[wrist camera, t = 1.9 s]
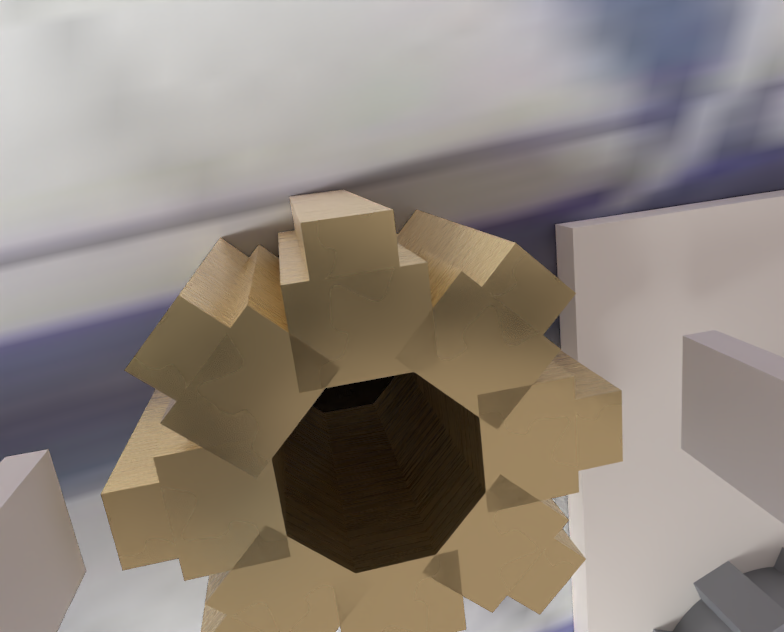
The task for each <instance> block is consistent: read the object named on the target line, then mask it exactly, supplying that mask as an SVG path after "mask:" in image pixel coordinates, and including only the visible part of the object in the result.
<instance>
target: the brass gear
mask: <svg viewBox="0 0 784 632" xmlns="http://www.w3.org/2000/svg"><path fill="white" fill-rule="evenodd" d="M289 198H290V204H291V210H292V216H293V222H294V228H295V230H293V231H286V232H279V233H278V242H279V258H278V257H277V256H275V255H274V254H272V253H271V252H270V251H268V250H267V249H265V248H264V247H263V246H261V245H260V244H259V245H258V246H257V247H256V249H255V250H254V251H253V253H252V254H251V256H250V257H248V256H246V255H245V254H244V253H242V252H241V251H239V250H238V249H236V248H235V247H234V246H232V245H231V244H229V243H228V242H226V241H225V240H224V239H222V238H221V237H220V239H219V240H218V241H217V243H216V244H215V246H214V247H213V248H212V250H211V251H210V252H209V254H208V255H207V257H206V258H205V259H204V261H203V262H202V263H201V265H200V266H199V268H198V269H197V270H196V272H195V273H194V275H193V276H192V277H191V279H190V280H189V281H188V283H187V284H186V286H185V287H184V288H183V290H182V291H181V293H180V294H179V295H178V297H177V298H176V299H175V301H174V302H173V304H172V305H171V306H170V308H169V309H168V311H167V312H166V313H165V315H164V316H163V318H162V319H161V320H160V322H159V323H158V324H157V326H156V327H155V329H154V330H153V331H152V333H151V334H150V336H149V337H148V338H147V340H146V341H145V342H144V344H143V345H142V347H141V348H140V349H139V351H138V352H137V354H136V355H135V356H134V358H133V359H132V360H131V362H130V363H129V365H128V366H127V367H126V369H125V370H124V371H126V372H128V373H129V374H131V375H133V376H135V377H136V378H138V379H140V380H141V381H143V382H145V383H146V384H148V385H150V386H152V387H153V388H155V389H156V390H155V392H154V393H153V395H152V397H151V399H150V401H149V403H148V405H147V407H146V409H145V411H144V413H143V414H142V416H141V418H140V420H139V422H138V424H137V426H136V428H135V430H134V432H133V434H132V435H131V437H130V439H129V441H128V443H127V445H126V447H125V449H124V451H123V453H122V455H121V456H120V458H119V460H118V462H117V464H116V466H115V468H114V470H113V472H112V474H111V476H110V477H109V479H108V481H107V483H106V485H105V487H104V489H103V491H102V493H101V497H102V500H103V504H104V507H105V511H106V514H107V518H108V521H109V525H110V528H111V532H112V535H113V539H114V542H115V546H116V549H117V553H118V556H119V560H120V563H121V566H122V570H127V569H132V568H136V567H141V566H146V565H150V564H155V563H159V562H164V561H168V560H173V559H178V558H179V561H180V565H181V569H182V573H183V577H184V581H186V580H190V579H194V578H199V577H203V576H208V575H209V581H208V587H207V593H206V600H205V608H204V614H203V621H202V627H201V632H336V630H337V629H338V628H339V627H340V628H341V632H458V631H462V630H466V622H465V613H464V603H463V596H464V597H466V598H467V599H469V600H471V601H473V602H474V603H476V604H478V605H480V606H481V607H483V608H485V609H487V610H488V611H490V612H492V613H493V612H494V610H495V609H496V608H497V607H498V606H499V604H500V603H501V602H502V601H503V599H504V598H505V597H506V596H509V597H511V598H512V599H514V600H516V601H518V602H519V603H521V604H523V605H524V606H526V607H528V608H530V609H531V610H533V611H535V612H536V613H538V614H541V613H542V611H543V610H544V609H545V608H546V607H547V605H548V604H549V603H550V602H551V601H552V599H553V598H554V597H555V596H556V595H557V593H558V592H559V591H560V590H561V589H562V587H563V586H564V585H565V584H566V583H567V582H568V580H569V579H570V578H571V577H572V576H573V574H574V573H575V572H576V571H577V570H578V568H579V567H580V566H581V565H582V564H583V562H584V561H585V560H586V558H585V557H584V556H583V554H582V553H581V552H580V550H579V549H578V548H577V547H576V545H575V544H574V543H573V542H572V540H571V539H570V538H569V536H568V535H567V534H566V533H565V531H564V530H563V529H562V528H563V527H564V526H565V524H566V523H567V522H568V521H569V519H568V518H567V517H566V516H565V515H564V513H563V512H562V511H561V510H560V509H559V507H558V506H557V505H556V504H555V502H554V501H553V500H552V498H556V497H560V496H565V495H569V494H574V493H578V492H579V475H578V471H581V470H585V469H590V468H594V467H599V466H604V465H608V464H613V463H617V462H622V461H623V437H622V390H620V389H619V388H617V387H616V386H614V385H613V384H611V383H610V382H608V381H607V380H605V379H603V378H602V377H600V376H599V375H597V374H596V373H594V372H593V371H591V370H590V369H588V368H587V367H585V366H584V365H582V364H581V363H579V362H578V361H576V360H575V359H573V358H572V357H570V356H569V355H567V354H566V353H564V352H563V351H561V349H560V348H559V347H558V346H556V345H555V344H554V343H552V342H551V341H550V340H549V339H547V338H546V337H545V336H544V333H545V332H546V331H547V330H548V328H549V327H550V326H551V325H552V323H553V322H554V321H555V320H556V318H557V317H558V316H559V314H560V313H561V312H562V311H563V309H564V308H565V307H566V306H567V304H568V303H569V302H570V301H571V299H572V298H573V297H574V296H575V294H576V293H575V292H574V291H573V290H572V289H570V288H569V287H568V286H567V285H566V284H564V283H563V282H562V281H561V280H560V279H558V278H557V277H556V276H555V275H554V274H552V273H551V272H550V271H549V270H548V269H546V268H545V267H544V266H543V265H542V264H540V263H539V262H538V261H537V260H536V259H534V258H533V257H532V256H531V255H530V254H529V253H527V252H526V251H525V250H524V249H523V248H521V247H520V246H519V245H518V244H517V243H514V242H512V241H509V240H506V239H503V238H500V237H497V236H494V235H491V234H488V233H485V232H482V231H479V230H476V229H473V228H470V227H467V226H464V225H461V224H458V223H455V222H452V221H449V220H446V219H443V218H440V217H437V216H434V215H431V214H428V213H425V212H422V211H419V210H416V211H415V212H414V213H413V215H412V216H411V217H410V219H409V220H408V221H407V223H406V224H405V225H404V227H403V228H402V229H401V231H400V232H399V233H398V234H397V233H396V229H395V220H394V212H393V209H390V208H388V207H385V206H383V205H380V204H378V203H375V202H373V201H370V200H368V199H366V198H363V197H361V196H358V195H356V194H353V193H351V192H348V191H346V190H343V189H342V190H334V191H327V192H319V193H312V194H304V195H297V196H289ZM389 376H395V377H394V378H393V379H392V380H391V382H390V383H389V384H388V386H387V387H386V388H385V390H384V391H383V392H382V393H381V395H380V396H379V397H378V399H377V400H376V401H375V402H374V404H369V405H364V406H358V407H353V408H348V409H342V410H337V411H332V412H327V413H323V412H322V411H320V410H318V409H317V408H315V407H314V406H312V405H313V404H314V402H315V401H316V400H317V399H318V397H319V396H320V395H321V393H322V392H323V391H324V389H325V388H329V387H335V386H340V385H346V384H351V383H356V382H362V381H367V380H373V379H378V378H384V377H389Z"/></svg>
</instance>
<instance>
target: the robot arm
mask: <svg viewBox="0 0 784 632" xmlns="http://www.w3.org/2000/svg"><path fill="white" fill-rule="evenodd" d="M681 449H682V450H684V451H685V452H686V453H688V454H689V455H691V456H692V457H693V458H695V459H696V460H697V461H699V462H700V463H701V464H703V465H704V466H706V467H707V468H708V469H710V470H711V471H712V472H714V473H715V474H716V475H718V476H719V477H720V478H722V479H723V480H725V481H726V482H727V483H729V484H730V485H731V486H733V487H734V488H735V489H737V490H738V491H739V492H741V493H742V494H744V495H745V496H746V497H748V498H749V499H750V500H752V501H753V502H754V503H756V504H757V505H759V506H760V507H761V508H763V509H764V510H765V511H767V512H768V513H769V514H771V515H772V516H773V517H775V518H776V519H778V520H779V521H780V522H782V523H783V524H784V357H781V356H779V355H776V354H774V353H771V352H769V351H766V350H764V349H761V348H759V347H756V346H754V345H751V344H749V343H746V342H744V341H741V340H739V339H736V338H734V337H731V336H729V335H726V334H724V333H721V332H719V331H716V330H711V331H705V332H700V333H694V334H689V335H683V358H682V424H681ZM85 573H86V569H85V566H84V562H83V559H82V556H81V553H80V549H79V546H78V543H77V540H76V536H75V533H74V530H73V527H72V524H71V520H70V517H69V514H68V511H67V507H66V504H65V501H64V498H63V494H62V491H61V488H60V485H59V481H58V478H57V475H56V472H55V469H54V465H53V462H52V459H51V456H50V452H49V449H47V450H41V451H36V452H30V453H24V454H19V455H13V456H8V457H5V458H4V459H3V460H2V461H1V462H0V632H57V631H58V629H59V627H60V625H61V622H62V620H63V618H64V616H65V614H66V612H67V610H68V608H69V606H70V604H71V602H72V600H73V598H74V596H75V593H76V591H77V589H78V587H79V585H80V583H81V581H82V579H83V577H84V575H85Z"/></svg>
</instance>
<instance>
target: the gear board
mask: <svg viewBox="0 0 784 632" xmlns="http://www.w3.org/2000/svg"><path fill="white" fill-rule="evenodd" d="M555 229H556V251H557V273H558V279H560V280H561V281H562V282H563V283H564V284H566V285H567V286H568V287H569V288H570V289H572V290H573V291H574V292H575V293H576V294H575V296H574V297H573V298H572V299H571V301H570V302H569V303H568V304H567V306H566V307H565V308H564V309H563V311H562V312H561V313H560V314H559V316H560V338H561V351H563V352H564V353H566V354H567V355H569V356H570V357H572V358H573V359H575V360H576V361H578V362H579V363H581V364H582V365H584V366H585V367H587V368H588V369H590V370H591V371H593V372H594V373H596V374H597V375H599V376H600V377H602V378H603V379H605V380H607V381H608V382H610V383H611V384H613V385H614V386H616V387H617V388H619V389H620V390H622V437H623V461H622V462H617V463H613V464H608V465H604V466H599V467H594V468H590V469H585V470H581V471H578V475H579V492H578V493H574V494H569V495H568V512H569V534H570V539H571V540H572V542H573V543H574V544H575V545H576V547H577V548H578V549H579V550H580V552H581V553H582V554H583V556H584V557H585V558H586V560H585V561H584V562H583V564H582V565H581V566H580V567H579V568H578V570H577V571H576V572H575V573H574V574H573V576H572V599H573V620H574V632H784V524H783V523H782V522H780V521H779V520H778V519H776V518H775V517H773V516H772V515H771V514H769V513H768V512H767V511H765V510H764V509H763V508H761V507H760V506H759V505H757V504H756V503H754V502H753V501H752V500H750V499H749V498H748V497H746V496H745V495H744V494H742V493H741V492H739V491H738V490H737V489H735V488H734V487H733V486H731V485H730V484H729V483H727V482H726V481H725V480H723V479H722V478H720V477H719V476H718V475H716V474H715V473H714V472H712V471H711V470H710V469H708V468H707V467H706V466H704V465H703V464H701V463H700V462H699V461H697V460H696V459H695V458H693V457H692V456H691V455H689V454H688V453H686V452H685V451H684V450H682V449H681V424H682V358H683V335H689V334H694V333H700V332H705V331H711V330H716V331H719V332H721V333H724V334H726V335H729V336H731V337H734V338H736V339H739V340H741V341H744V342H746V343H749V344H751V345H754V346H756V347H759V348H761V349H764V350H766V351H769V352H771V353H774V354H776V355H779V356H781V357H784V190H779V191H773V192H766V193H759V194H753V195H746V196H740V197H733V198H726V199H720V200H713V201H706V202H700V203H693V204H687V205H680V206H673V207H667V208H660V209H654V210H647V211H640V212H634V213H627V214H620V215H614V216H607V217H601V218H594V219H587V220H581V221H574V222H568V223H561V224H555Z"/></svg>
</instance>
